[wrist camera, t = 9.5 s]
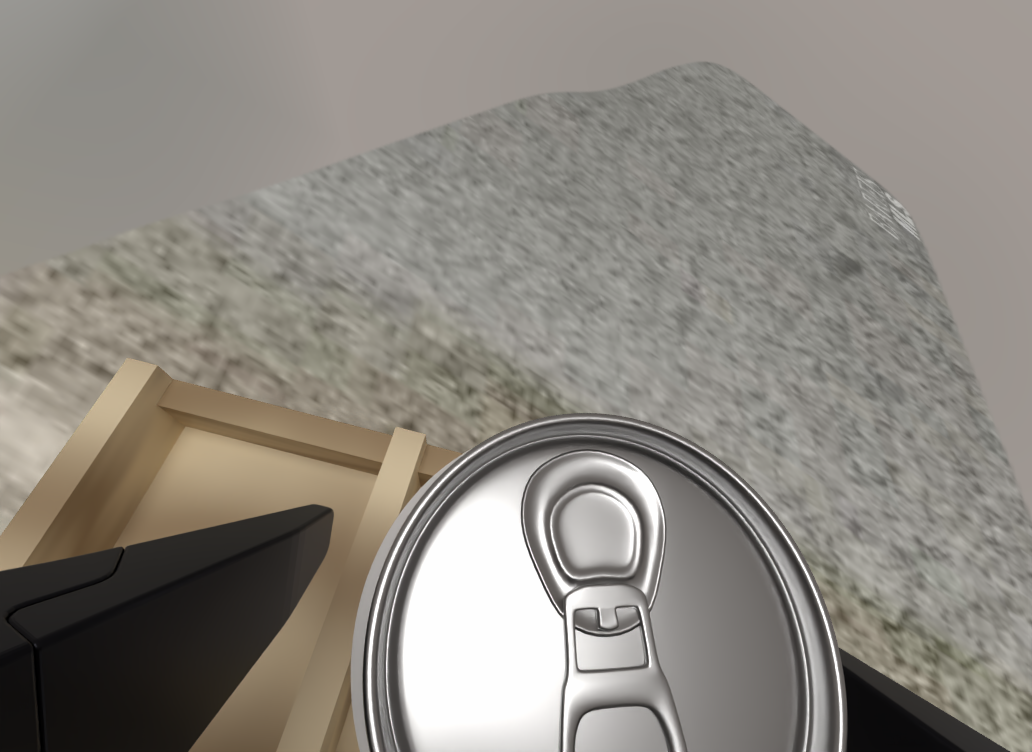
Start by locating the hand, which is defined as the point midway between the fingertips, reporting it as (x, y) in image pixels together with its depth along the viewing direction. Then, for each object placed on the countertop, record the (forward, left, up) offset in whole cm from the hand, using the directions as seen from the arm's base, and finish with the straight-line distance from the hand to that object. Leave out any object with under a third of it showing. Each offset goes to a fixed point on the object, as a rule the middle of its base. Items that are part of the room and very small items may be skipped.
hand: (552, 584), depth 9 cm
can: (-1, 0, -8) cm, 8 cm away
